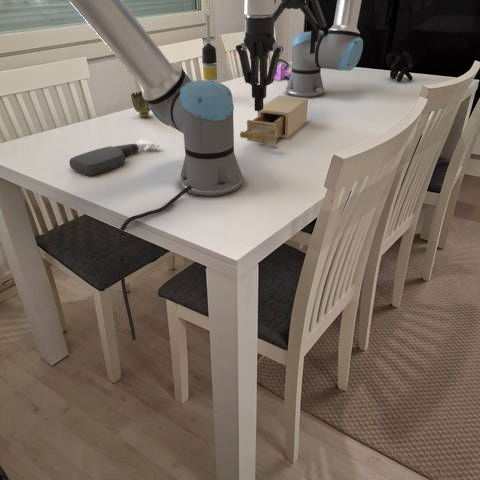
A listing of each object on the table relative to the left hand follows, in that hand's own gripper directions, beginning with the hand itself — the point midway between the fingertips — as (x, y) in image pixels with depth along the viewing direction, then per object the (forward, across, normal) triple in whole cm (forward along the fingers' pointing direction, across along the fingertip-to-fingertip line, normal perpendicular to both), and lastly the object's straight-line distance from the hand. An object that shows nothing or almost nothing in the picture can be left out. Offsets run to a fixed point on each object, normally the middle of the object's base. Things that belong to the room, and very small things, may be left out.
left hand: (258, 109), depth 125 cm
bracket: (+11, +27, -90) cm, 95 cm away
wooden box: (+11, 0, -20) cm, 23 cm away
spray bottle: (+11, +33, +24) cm, 42 cm away
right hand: (-11, 0, -25) cm, 27 cm away
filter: (+11, +40, -43) cm, 60 cm away
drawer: (+10, 0, -7) cm, 13 cm away
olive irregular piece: (+11, +50, -12) cm, 53 cm away
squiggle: (+11, -24, -103) cm, 107 cm away
